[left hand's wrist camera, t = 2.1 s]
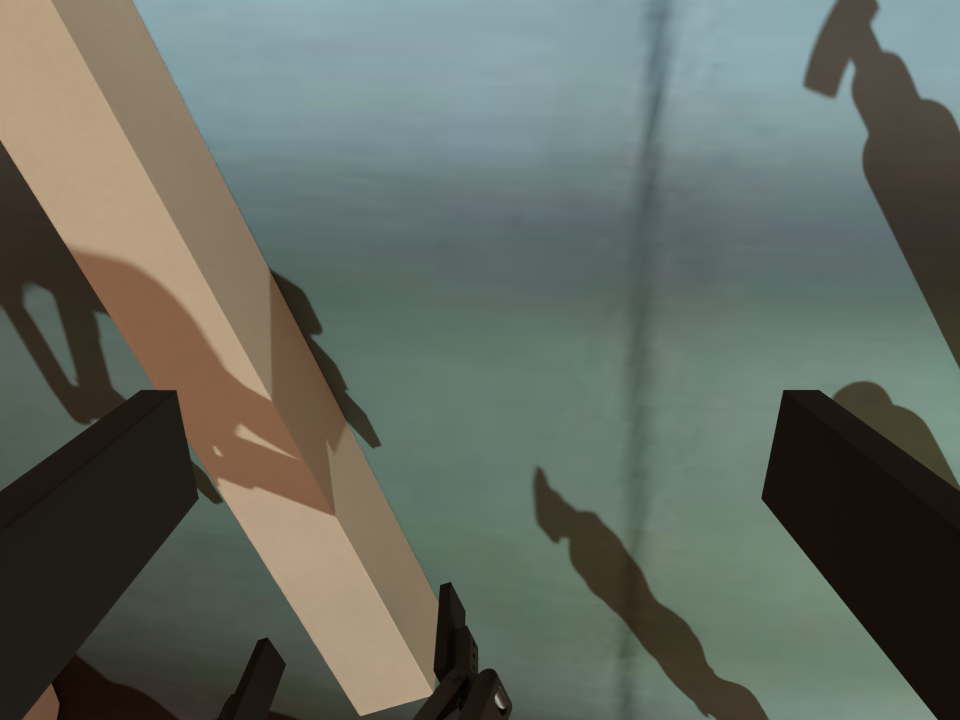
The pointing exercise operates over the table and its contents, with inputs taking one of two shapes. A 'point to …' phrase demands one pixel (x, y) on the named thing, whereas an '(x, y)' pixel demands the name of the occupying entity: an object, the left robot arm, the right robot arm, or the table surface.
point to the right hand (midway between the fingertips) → (360, 625)
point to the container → (44, 706)
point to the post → (213, 331)
